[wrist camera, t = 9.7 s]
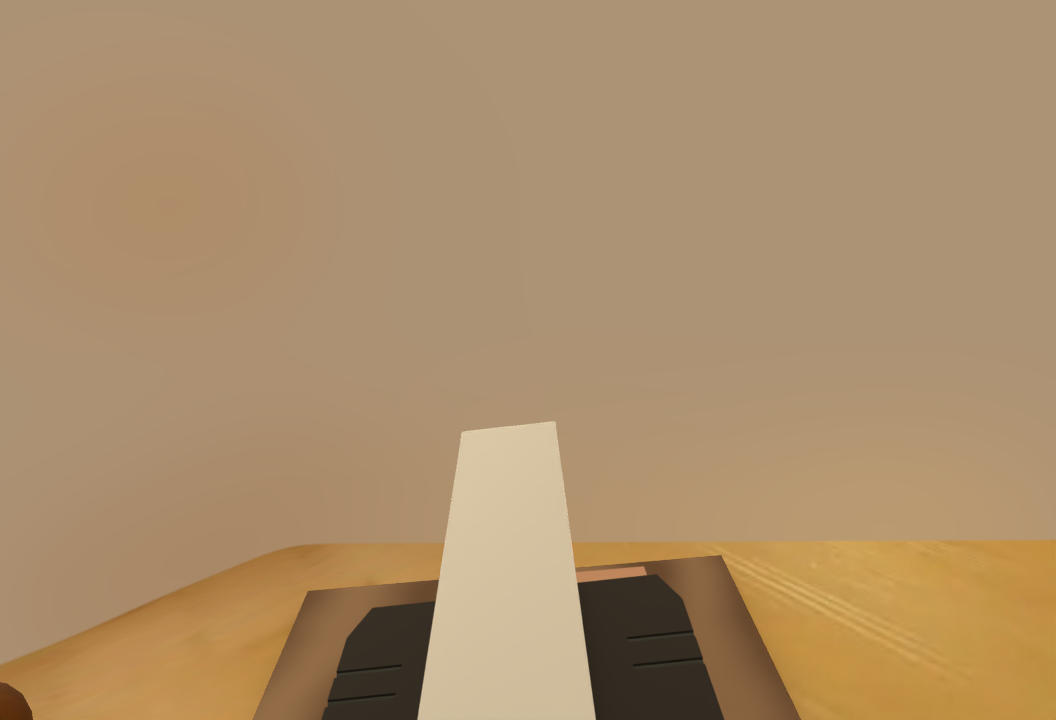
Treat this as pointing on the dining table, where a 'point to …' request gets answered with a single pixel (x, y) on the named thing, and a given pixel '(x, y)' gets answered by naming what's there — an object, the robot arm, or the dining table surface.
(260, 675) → the dining table surface
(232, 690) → the dining table surface
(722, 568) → the board
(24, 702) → the mug
